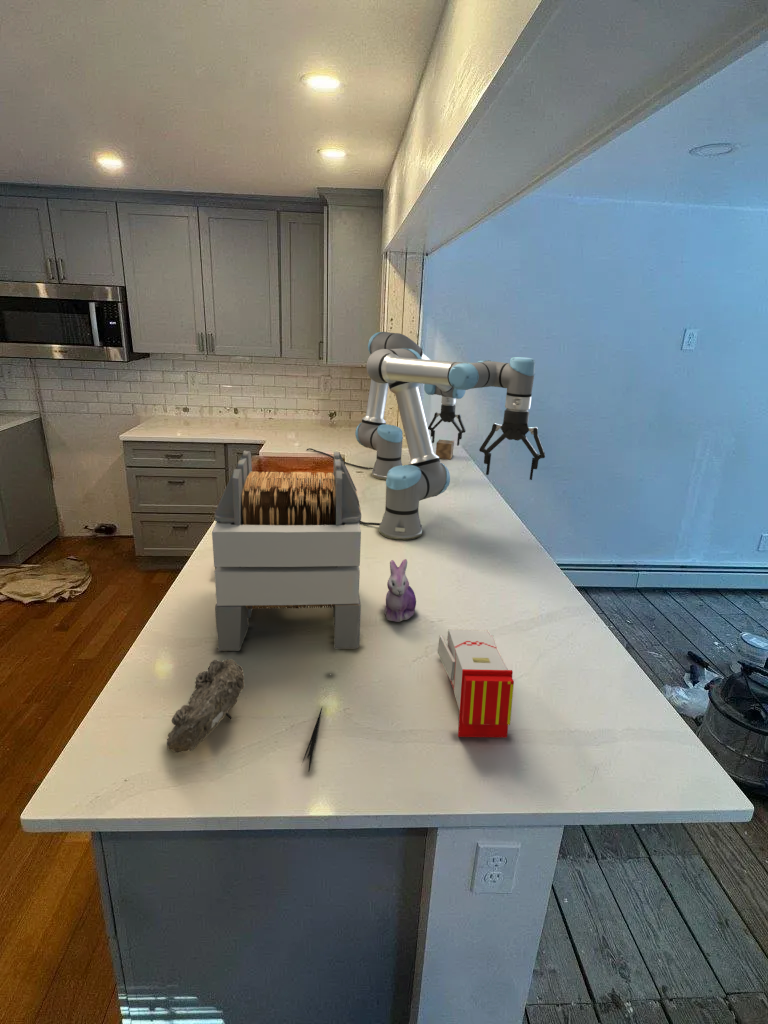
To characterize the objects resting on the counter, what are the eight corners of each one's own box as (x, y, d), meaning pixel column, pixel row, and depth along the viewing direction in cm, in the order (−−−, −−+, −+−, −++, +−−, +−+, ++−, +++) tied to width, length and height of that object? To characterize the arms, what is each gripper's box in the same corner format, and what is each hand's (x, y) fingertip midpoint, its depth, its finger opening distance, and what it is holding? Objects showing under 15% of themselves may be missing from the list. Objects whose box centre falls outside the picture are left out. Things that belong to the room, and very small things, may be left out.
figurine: (392, 627, 141) (395, 572, 136) (374, 608, 149) (376, 556, 144) (425, 619, 145) (429, 566, 140) (405, 601, 154) (408, 550, 149)
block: (435, 458, 305) (436, 442, 302) (438, 454, 312) (439, 439, 310) (450, 459, 303) (451, 444, 300) (452, 456, 310) (454, 440, 308)
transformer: (235, 584, 159) (228, 441, 145) (352, 582, 163) (356, 443, 149) (215, 653, 127) (203, 479, 113) (360, 649, 131) (366, 481, 117)
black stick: (331, 679, 122) (336, 673, 122) (307, 777, 96) (313, 769, 95) (324, 675, 122) (329, 669, 121) (298, 772, 95) (304, 764, 95)
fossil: (192, 660, 117) (244, 628, 112) (224, 691, 120) (276, 661, 115) (142, 746, 98) (202, 712, 93) (182, 779, 101) (242, 748, 96)
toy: (488, 613, 130) (523, 677, 101) (484, 667, 133) (517, 744, 104) (435, 612, 130) (455, 676, 101) (432, 666, 133) (451, 743, 103)
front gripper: (474, 408, 173) (468, 474, 180) (559, 415, 167) (549, 484, 174) (477, 404, 180) (471, 468, 187) (559, 411, 174) (549, 477, 181)
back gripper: (423, 403, 297) (421, 443, 305) (471, 407, 292) (467, 447, 299) (426, 401, 304) (424, 440, 312) (473, 405, 298) (469, 444, 306)
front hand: (509, 476), depth 181 cm, fingers open, 13 cm apart
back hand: (445, 443), depth 305 cm, fingers open, 13 cm apart
